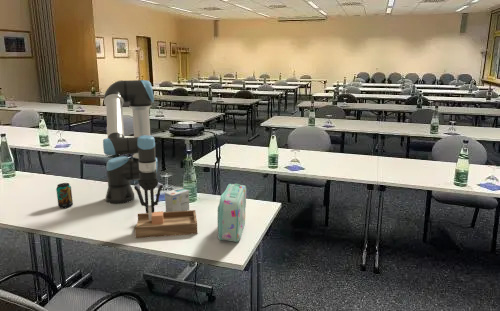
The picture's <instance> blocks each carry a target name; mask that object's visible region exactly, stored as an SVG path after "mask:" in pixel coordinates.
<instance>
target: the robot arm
mask: <svg viewBox="0 0 500 311" xmlns="http://www.w3.org/2000/svg"><path fill="white" fill-rule="evenodd" d="M154 95H155V94H154V90H153V87H152V83H151V82H150V81H149V80H147V79H146V80H144V79H138V80H137V79H133V80H117V81H115V82H113V83H112V84H110V85H109V86H108V87H107V89H106V91H105V92H104V95H103V104H104V106H105V108H106V109H105V111H106V126H107V127H106V128H107V130H106V133H107V134H106V135H107V137H106V138H104V139H103V140H102V148H103V153H104V155H105V156H106V155H107V156H117V155H128V154H131V155H132V158H131V159H130V158H129V156H117V157H113V158H111V159H109V160H108V161H106V173H107V176H106V177H107V187H108V188H107V191H106V194H105V201H106V203H108V204H113V205H122V204H127V203H129V202H132V201H133V200H135V197H136V196H135V192H134V190H135V191H136V193H137V197H138V200H139V202H140V205H141V207H144V208H145V213H148V215H149V220H152V213H154V212H155V206H158V204H159V201H160V194H161V191H162V189H163V187H164V184H163V183H160V182H159V181H158V157H156V142H155V141H156V140H155V137H154V136H152V135H151V124H150V123H151V122H150V108H151V107H152V106H153V105H152V103H155V96H154ZM124 104H128V107H129V108H130V109H131V110H132V124H133V125H132V126H133V137H125V127H124V125H125V124H124V113H123V106H124ZM131 181H138V183H137V184H135V185H134V187H132V185H131ZM156 187H157V193H156V198H154V197H155V195H154V190H155V188H156ZM133 188H134V190H133ZM141 189H142V190H143V192H144V197H143V194H142V192H141ZM149 192H150V204H149Z"/></svg>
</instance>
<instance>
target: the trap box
mask: <svg viewBox="0 0 500 311" xmlns="http://www.w3.org/2000/svg"><path fill="white" fill-rule="evenodd" d="M196 212H197V211H196V210H195V209H191V210H190V209H189V210H187V211H173V212H166V211H163V224H152V220H149V215H148V213H146V212H145V213H137V223H136V226H135V227H134V236H135V237H134V238H135V239H146V238H159V237H161V238H162V237H169V236H171V237H172V236H174V237H175V236H187V235H197V234H198V220H197V214H196Z"/></svg>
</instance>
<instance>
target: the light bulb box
mask: <svg viewBox="0 0 500 311" xmlns="http://www.w3.org/2000/svg"><path fill="white" fill-rule="evenodd" d="M164 203H165V212H173V211H189V210H190V192H189V189H186V188H183V187H180V188H176V189H175V188H174V189H172V190H168V191H165V192H164Z"/></svg>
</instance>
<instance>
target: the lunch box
mask: <svg viewBox="0 0 500 311" xmlns="http://www.w3.org/2000/svg"><path fill="white" fill-rule="evenodd" d="M246 205H247V186H246V185H243V184H240V183H234V184H233V183H228V184H227V186H226V189H225V190H224V191H223V193H222V194H221V195H220V198H219V204H218V206H217V237H218V240H220V241H228V242H235V243H238V242H239V240H240V239H241V237H242V235H243V231H244V229H245V228H244V227H245V224H246V208H247V206H246Z"/></svg>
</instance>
